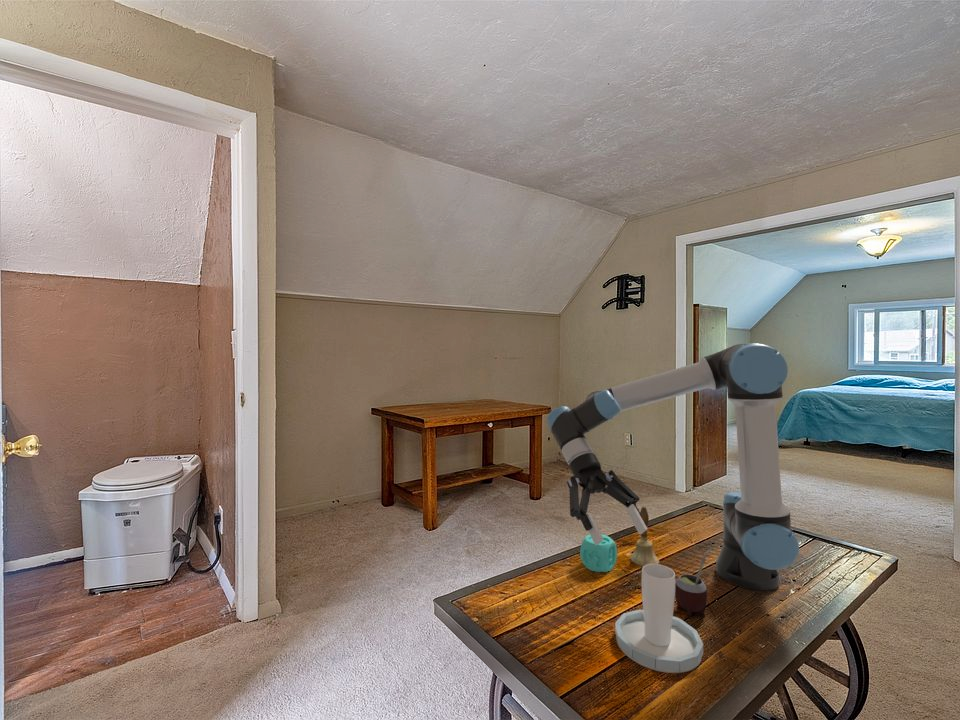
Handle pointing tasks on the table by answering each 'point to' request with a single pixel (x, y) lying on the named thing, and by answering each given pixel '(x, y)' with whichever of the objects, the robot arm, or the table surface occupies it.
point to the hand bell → (644, 546)
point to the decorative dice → (598, 554)
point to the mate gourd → (692, 593)
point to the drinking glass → (658, 603)
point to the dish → (668, 659)
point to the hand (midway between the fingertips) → (622, 537)
